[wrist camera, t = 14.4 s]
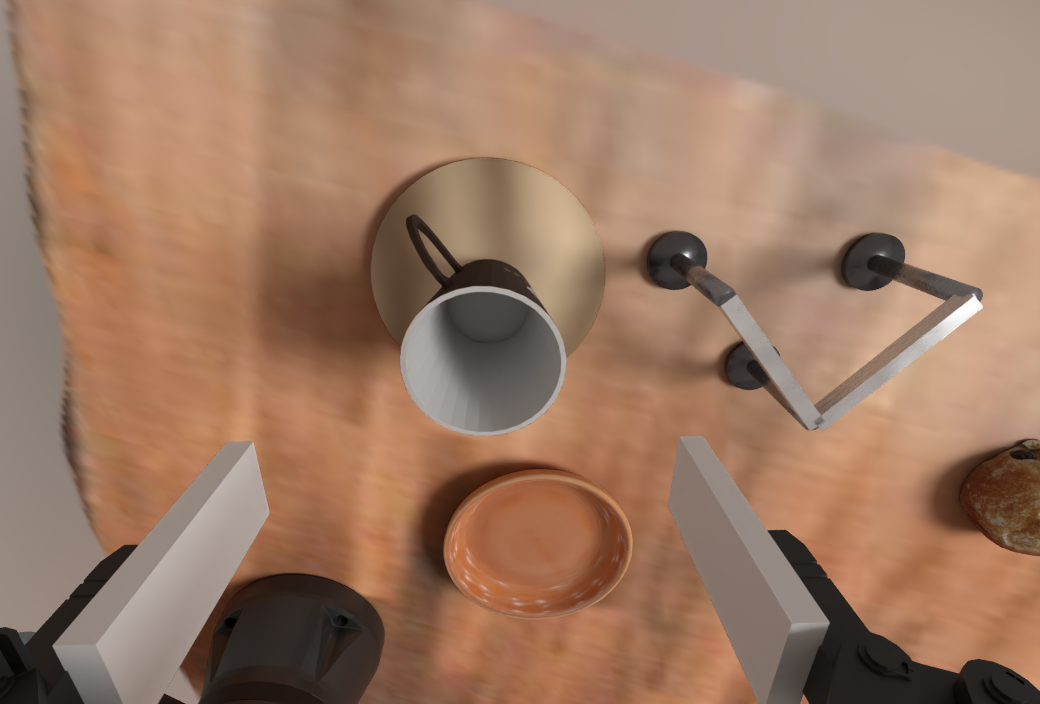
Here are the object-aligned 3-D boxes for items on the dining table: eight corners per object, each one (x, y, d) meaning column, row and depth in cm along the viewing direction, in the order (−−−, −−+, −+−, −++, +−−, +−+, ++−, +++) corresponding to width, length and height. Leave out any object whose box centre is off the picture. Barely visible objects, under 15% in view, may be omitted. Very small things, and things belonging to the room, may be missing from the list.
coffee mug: (550, 357, 37) (566, 432, 28) (432, 362, 37) (410, 440, 28) (548, 192, 33) (567, 219, 23) (413, 197, 32) (379, 226, 23)
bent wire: (632, 386, 40) (666, 455, 31) (650, 230, 35) (697, 263, 26) (857, 385, 40) (948, 452, 32) (906, 233, 35) (1029, 265, 27)
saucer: (408, 525, 45) (402, 552, 42) (547, 420, 41) (550, 441, 38) (527, 617, 50) (529, 646, 47) (660, 531, 46) (670, 557, 43)
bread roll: (1032, 415, 47) (1121, 430, 39) (1083, 519, 46) (1184, 556, 38) (922, 456, 48) (986, 478, 40) (970, 557, 47) (1045, 600, 40)
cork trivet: (384, 381, 39) (382, 386, 38) (361, 155, 32) (357, 156, 31) (594, 381, 39) (596, 385, 38) (612, 159, 33) (615, 160, 32)
